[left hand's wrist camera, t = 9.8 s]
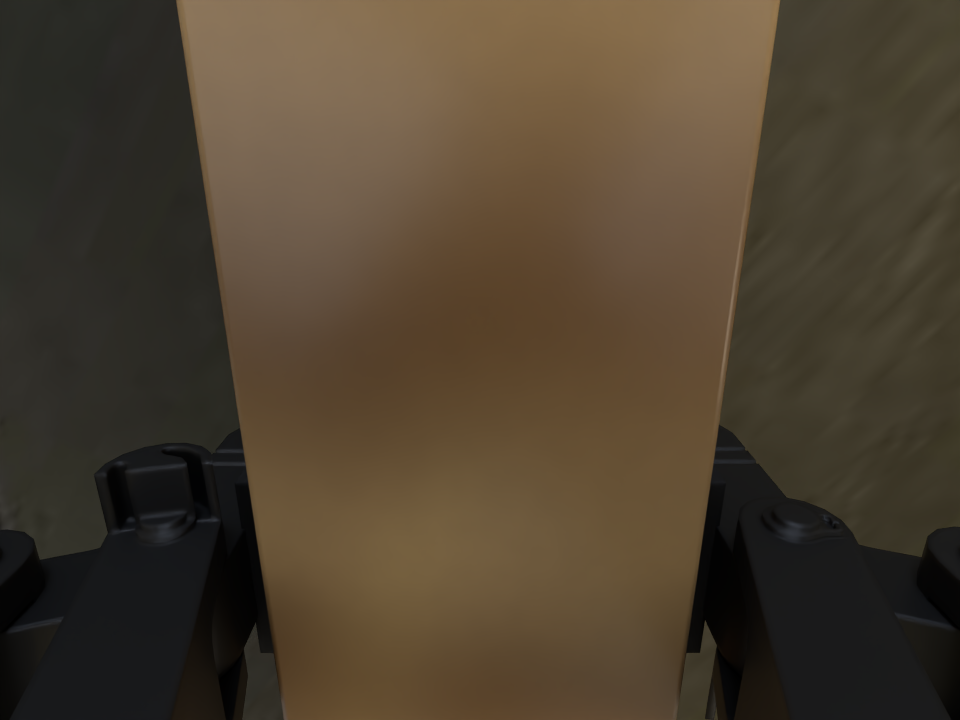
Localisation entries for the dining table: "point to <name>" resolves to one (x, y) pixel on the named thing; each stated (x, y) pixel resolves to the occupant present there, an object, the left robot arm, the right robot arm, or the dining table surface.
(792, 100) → the dining table surface
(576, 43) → the bar
